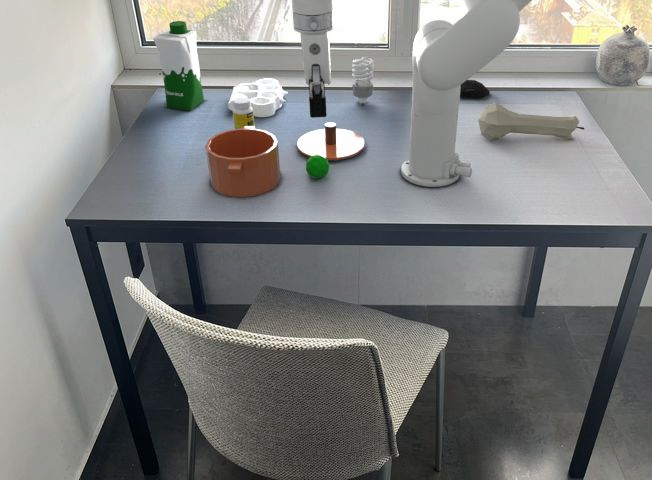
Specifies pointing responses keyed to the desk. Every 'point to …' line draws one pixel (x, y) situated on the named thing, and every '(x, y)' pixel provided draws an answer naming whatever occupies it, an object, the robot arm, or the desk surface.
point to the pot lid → (331, 143)
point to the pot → (243, 162)
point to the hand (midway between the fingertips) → (317, 106)
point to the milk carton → (180, 66)
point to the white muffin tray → (260, 96)
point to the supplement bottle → (242, 113)
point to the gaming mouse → (473, 90)
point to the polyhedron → (317, 166)
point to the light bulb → (363, 86)
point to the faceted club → (523, 123)
